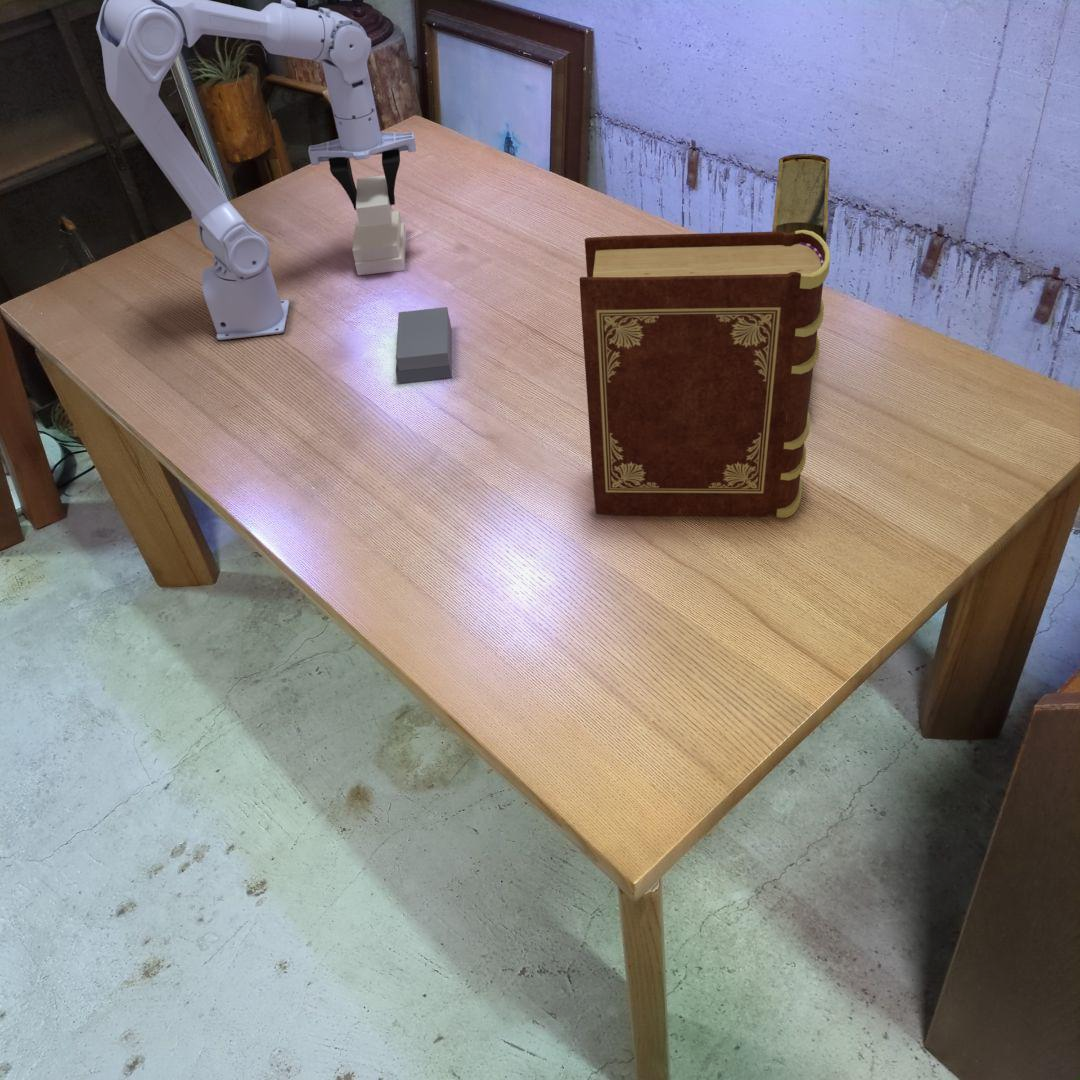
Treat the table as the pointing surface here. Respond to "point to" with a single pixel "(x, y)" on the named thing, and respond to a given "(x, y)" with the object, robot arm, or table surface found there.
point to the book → (802, 194)
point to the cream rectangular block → (373, 202)
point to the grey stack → (424, 345)
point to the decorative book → (701, 370)
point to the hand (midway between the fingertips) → (374, 204)
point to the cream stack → (380, 247)
